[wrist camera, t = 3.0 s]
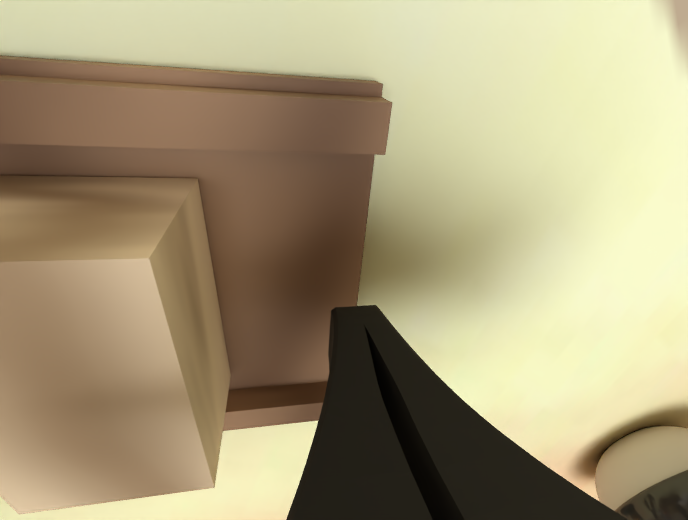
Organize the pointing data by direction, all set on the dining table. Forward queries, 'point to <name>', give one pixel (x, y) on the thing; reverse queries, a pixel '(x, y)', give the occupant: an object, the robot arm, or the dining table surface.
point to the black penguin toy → (646, 474)
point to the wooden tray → (227, 193)
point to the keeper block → (107, 341)
